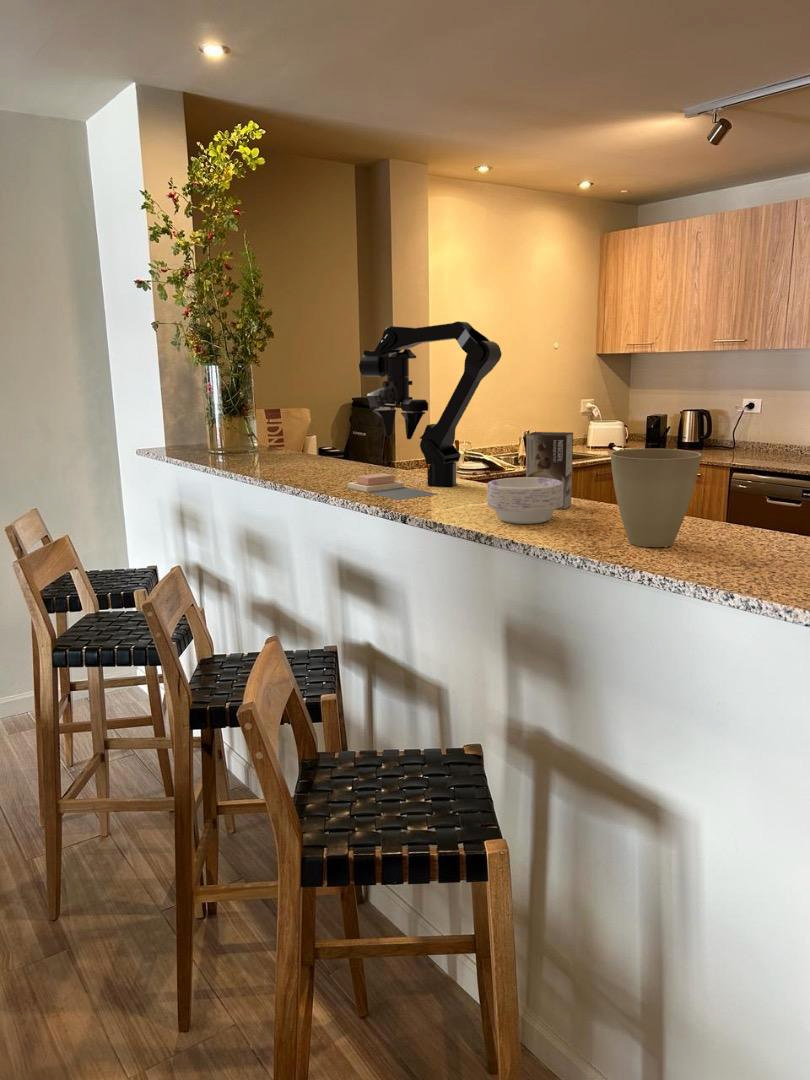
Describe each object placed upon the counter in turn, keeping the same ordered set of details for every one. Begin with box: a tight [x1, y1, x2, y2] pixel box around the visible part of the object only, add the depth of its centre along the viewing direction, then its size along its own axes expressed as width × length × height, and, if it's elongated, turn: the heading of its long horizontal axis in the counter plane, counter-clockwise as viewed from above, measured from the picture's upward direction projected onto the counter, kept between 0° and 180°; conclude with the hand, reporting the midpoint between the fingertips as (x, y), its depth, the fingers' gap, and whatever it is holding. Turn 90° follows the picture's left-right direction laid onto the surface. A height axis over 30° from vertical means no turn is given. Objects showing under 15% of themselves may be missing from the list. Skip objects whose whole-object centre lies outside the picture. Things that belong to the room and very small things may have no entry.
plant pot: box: [609, 448, 702, 548], centre depth 135 cm, size 15×15×16 cm
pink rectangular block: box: [356, 472, 396, 486], centre depth 196 cm, size 8×5×3 cm, turn 126°
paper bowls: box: [486, 476, 563, 525], centre depth 157 cm, size 15×15×8 cm
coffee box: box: [525, 431, 574, 510], centre depth 171 cm, size 9×6×16 cm
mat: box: [343, 480, 439, 501], centre depth 191 cm, size 24×12×2 cm, turn 36°
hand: (398, 437), depth 204 cm, fingers open, 9 cm apart
